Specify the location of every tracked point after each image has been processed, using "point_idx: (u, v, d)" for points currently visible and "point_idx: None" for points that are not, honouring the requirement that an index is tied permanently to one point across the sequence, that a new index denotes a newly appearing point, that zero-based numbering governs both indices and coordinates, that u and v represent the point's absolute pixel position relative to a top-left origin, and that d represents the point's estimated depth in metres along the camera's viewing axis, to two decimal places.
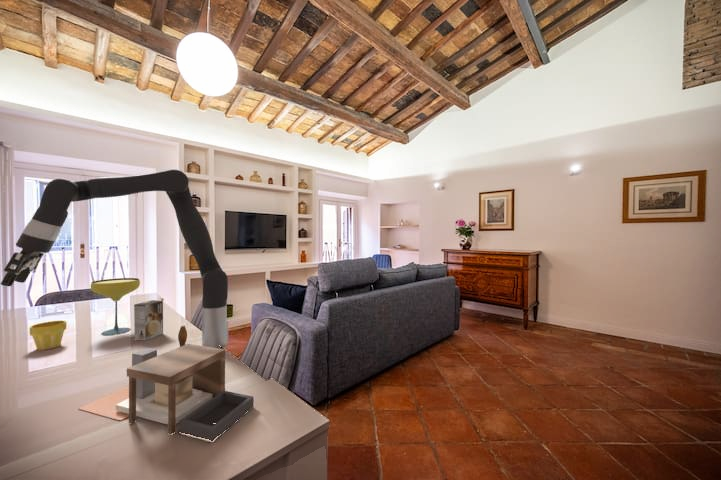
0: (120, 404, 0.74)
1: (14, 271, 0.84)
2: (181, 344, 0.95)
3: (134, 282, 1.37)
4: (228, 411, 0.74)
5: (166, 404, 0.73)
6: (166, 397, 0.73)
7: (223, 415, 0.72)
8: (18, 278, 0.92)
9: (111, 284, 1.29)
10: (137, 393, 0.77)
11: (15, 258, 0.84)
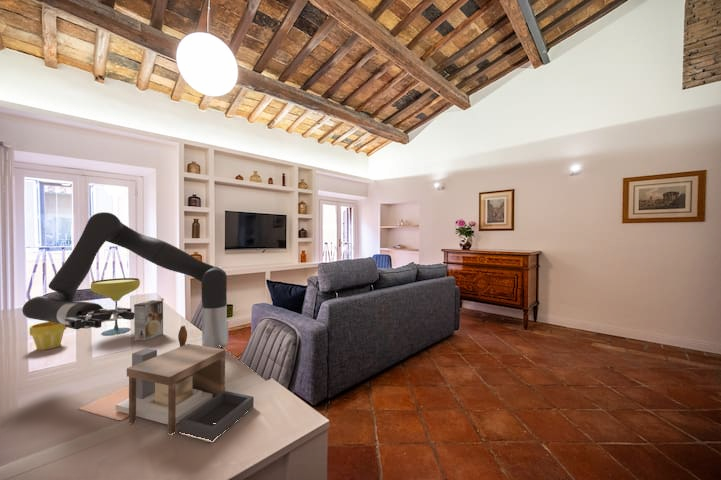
0: (120, 404, 0.74)
1: (75, 321, 0.77)
2: (181, 344, 0.95)
3: (134, 282, 1.37)
4: (228, 411, 0.74)
5: (166, 404, 0.73)
6: (166, 397, 0.73)
7: (223, 415, 0.72)
8: (129, 317, 0.86)
9: (111, 284, 1.29)
10: (137, 393, 0.77)
11: (67, 324, 0.78)
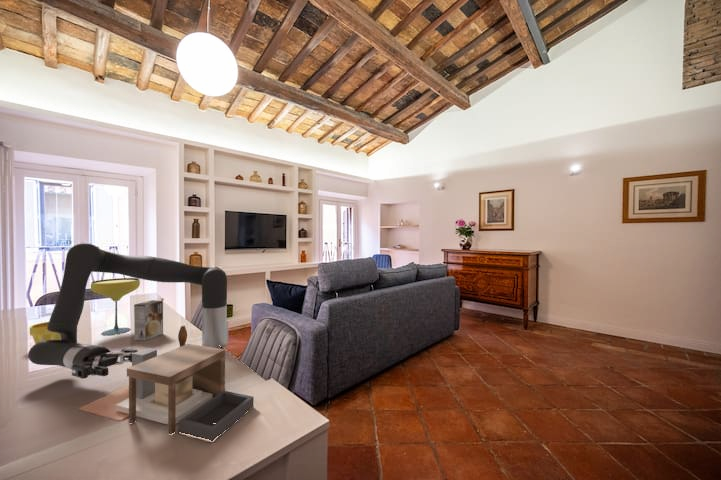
0: (120, 404, 0.74)
1: (82, 370, 0.76)
2: (181, 344, 0.95)
3: (134, 282, 1.37)
4: (228, 411, 0.74)
5: (166, 404, 0.73)
6: (166, 397, 0.73)
7: (223, 415, 0.72)
8: None
9: (111, 284, 1.29)
10: (137, 393, 0.77)
11: (74, 372, 0.78)
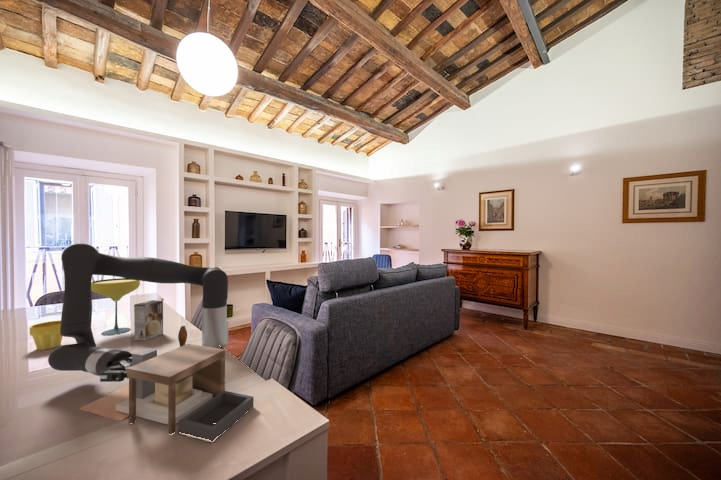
0: (120, 404, 0.74)
1: (119, 373, 0.75)
2: (181, 344, 0.95)
3: (134, 282, 1.37)
4: (228, 411, 0.74)
5: (166, 404, 0.73)
6: (166, 397, 0.73)
7: (223, 415, 0.72)
8: None
9: (111, 284, 1.29)
10: (137, 393, 0.77)
11: (105, 378, 0.75)
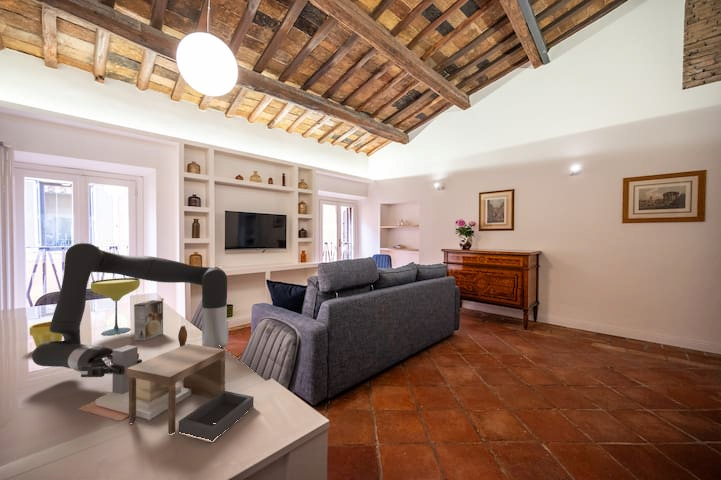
0: (100, 399, 0.76)
1: (99, 369, 0.77)
2: (181, 344, 0.95)
3: (134, 282, 1.37)
4: (228, 411, 0.74)
5: (144, 399, 0.75)
6: (144, 392, 0.75)
7: (223, 415, 0.72)
8: None
9: (111, 284, 1.29)
10: (118, 388, 0.79)
11: (86, 374, 0.77)
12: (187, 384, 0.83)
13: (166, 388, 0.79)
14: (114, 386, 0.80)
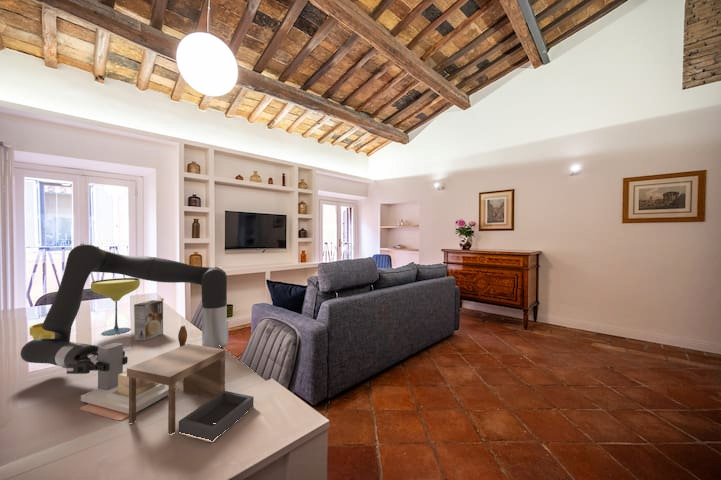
0: (85, 395, 0.78)
1: (85, 366, 0.79)
2: (181, 344, 0.95)
3: (134, 282, 1.37)
4: (228, 411, 0.74)
5: (128, 395, 0.77)
6: (128, 388, 0.77)
7: (223, 415, 0.72)
8: None
9: (111, 284, 1.29)
10: (103, 385, 0.81)
11: (71, 370, 0.79)
12: (187, 384, 0.83)
13: (150, 384, 0.81)
14: (99, 383, 0.82)
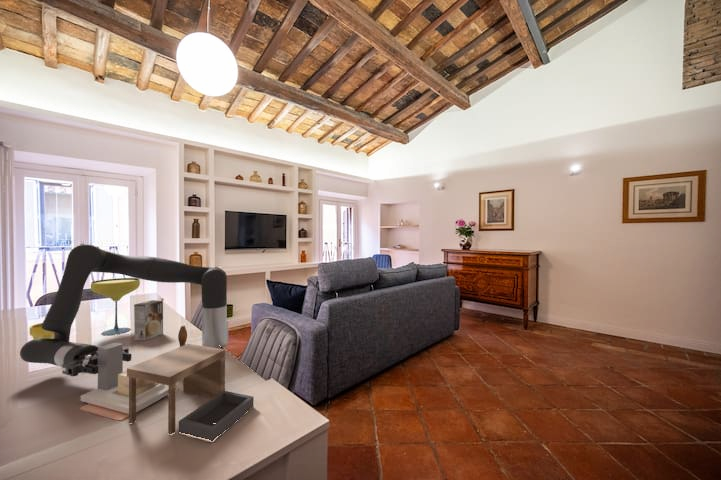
0: (84, 395, 0.78)
1: (72, 368, 0.77)
2: (181, 344, 0.95)
3: (134, 282, 1.37)
4: (228, 411, 0.74)
5: (128, 395, 0.77)
6: (128, 388, 0.77)
7: (223, 415, 0.72)
8: (126, 359, 0.87)
9: (111, 284, 1.29)
10: (103, 385, 0.81)
11: (64, 370, 0.79)
12: (187, 384, 0.83)
13: (150, 384, 0.81)
14: (99, 383, 0.82)
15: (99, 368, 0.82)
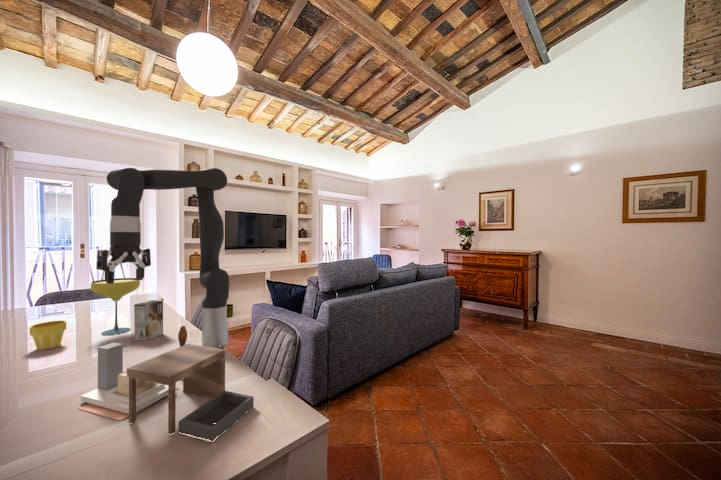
0: (84, 395, 0.78)
1: (101, 268, 0.83)
2: (181, 344, 0.95)
3: (134, 282, 1.37)
4: (228, 411, 0.74)
5: (128, 395, 0.77)
6: (128, 388, 0.77)
7: (223, 415, 0.72)
8: (137, 276, 0.94)
9: (111, 284, 1.29)
10: (103, 385, 0.81)
11: (99, 255, 0.83)
12: (187, 384, 0.83)
13: (150, 384, 0.81)
14: (99, 383, 0.82)
15: (99, 368, 0.82)
